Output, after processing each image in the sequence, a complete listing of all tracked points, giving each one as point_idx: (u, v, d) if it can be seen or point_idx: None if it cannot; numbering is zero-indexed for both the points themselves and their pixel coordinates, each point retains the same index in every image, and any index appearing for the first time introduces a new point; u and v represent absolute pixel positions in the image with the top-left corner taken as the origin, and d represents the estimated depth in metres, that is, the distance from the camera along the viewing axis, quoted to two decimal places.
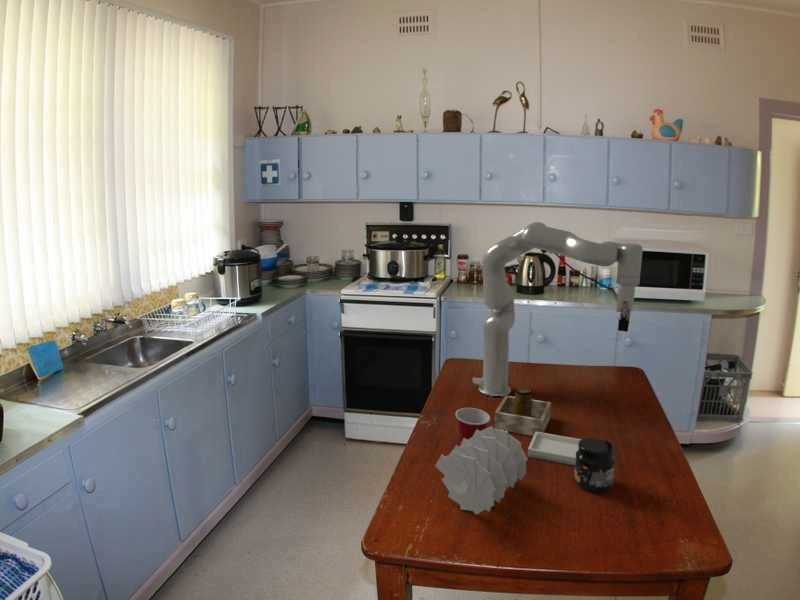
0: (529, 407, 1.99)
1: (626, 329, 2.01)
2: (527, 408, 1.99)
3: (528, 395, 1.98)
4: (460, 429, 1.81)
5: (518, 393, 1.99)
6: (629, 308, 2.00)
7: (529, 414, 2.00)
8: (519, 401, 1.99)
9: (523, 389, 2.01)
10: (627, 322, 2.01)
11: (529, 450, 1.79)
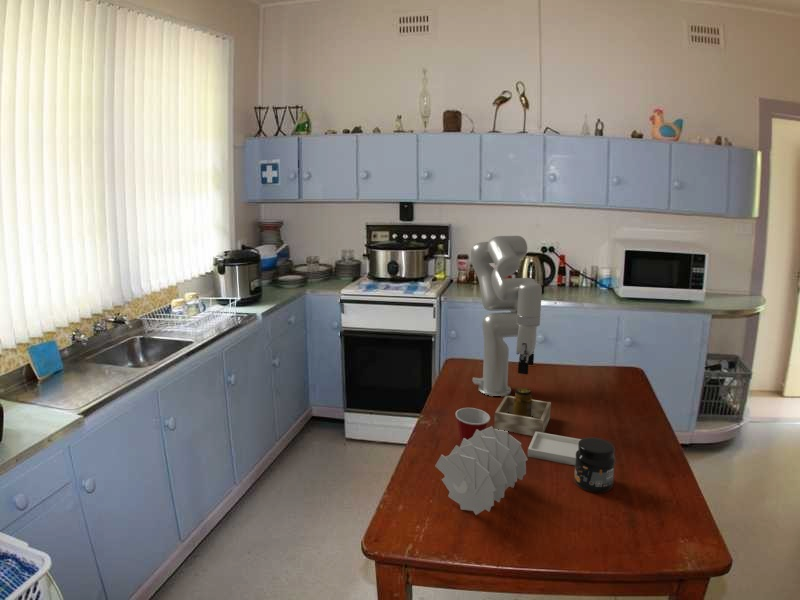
0: (529, 407, 1.99)
1: (526, 372, 1.92)
2: (527, 408, 1.99)
3: (528, 395, 1.98)
4: (460, 429, 1.81)
5: (518, 393, 1.99)
6: (528, 350, 1.91)
7: (529, 414, 2.00)
8: (519, 401, 1.99)
9: (523, 389, 2.01)
10: (527, 365, 1.92)
11: (529, 450, 1.79)
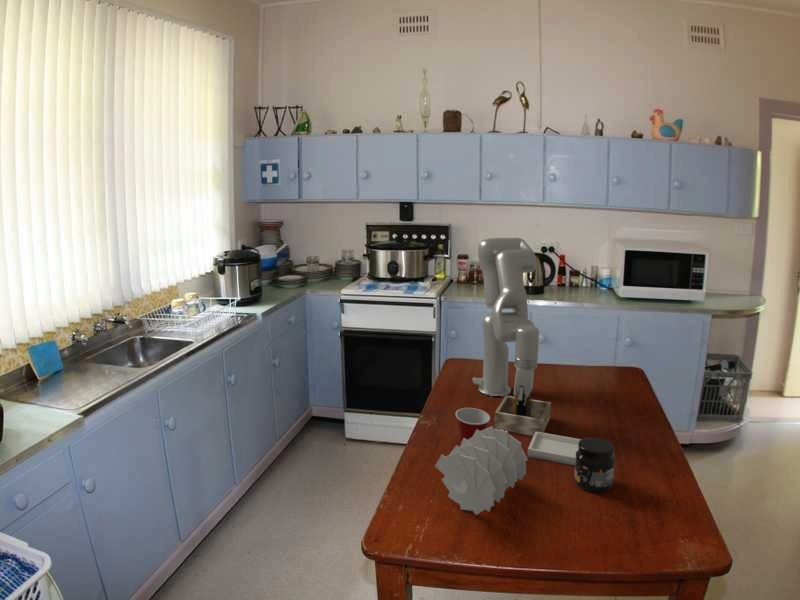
0: (529, 408, 1.99)
1: (524, 414, 1.98)
2: (527, 408, 1.98)
3: None
4: (460, 429, 1.81)
5: None
6: (525, 395, 1.95)
7: (529, 415, 2.00)
8: None
9: None
10: (525, 407, 1.97)
11: (529, 450, 1.79)
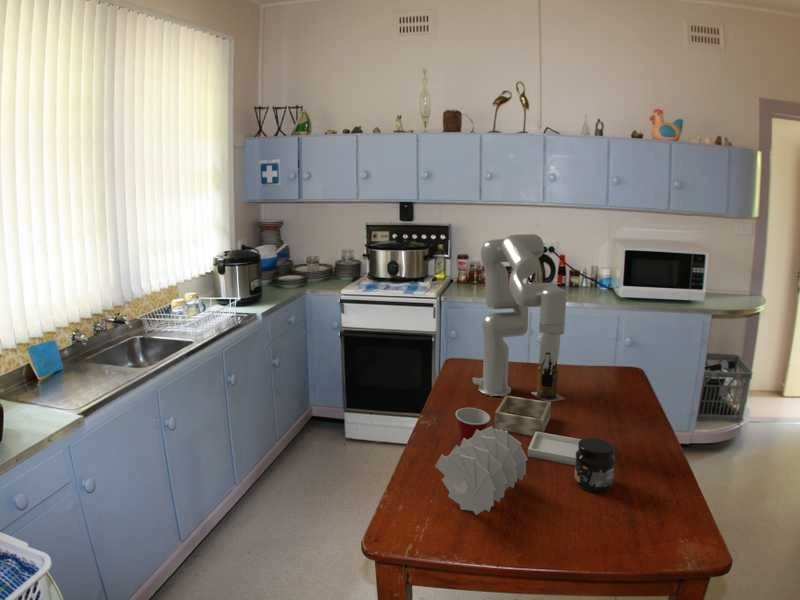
0: (555, 377, 1.83)
1: (550, 384, 1.81)
2: (553, 378, 1.82)
3: None
4: (460, 429, 1.81)
5: (543, 362, 1.82)
6: (552, 362, 1.79)
7: (555, 385, 1.83)
8: None
9: None
10: (551, 377, 1.81)
11: (529, 450, 1.79)
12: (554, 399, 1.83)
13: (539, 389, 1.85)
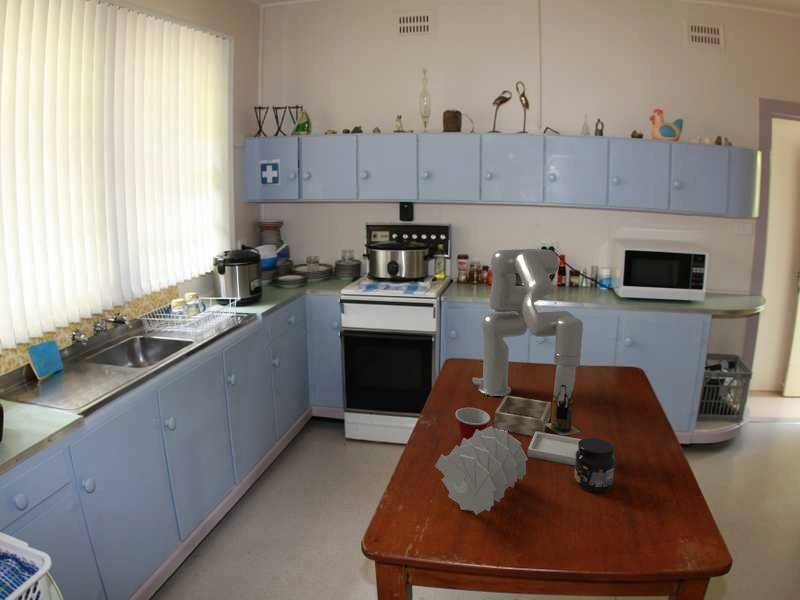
0: (570, 410, 1.77)
1: (565, 417, 1.75)
2: (568, 411, 1.76)
3: None
4: (460, 429, 1.81)
5: (558, 394, 1.76)
6: (567, 395, 1.73)
7: (570, 418, 1.77)
8: None
9: None
10: (566, 409, 1.75)
11: (529, 450, 1.79)
12: (569, 432, 1.77)
13: (554, 421, 1.78)
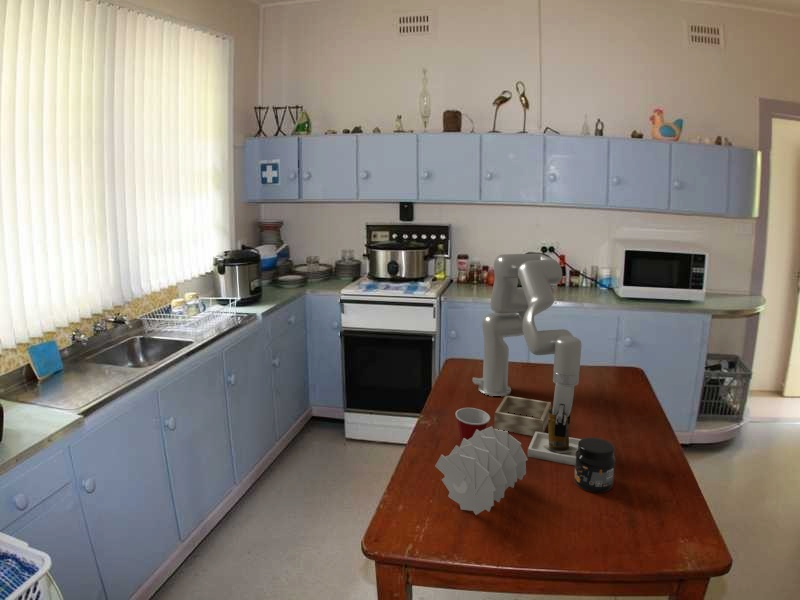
0: (566, 428, 1.79)
1: (563, 435, 1.75)
2: None
3: None
4: (460, 429, 1.81)
5: None
6: (566, 411, 1.74)
7: (567, 436, 1.80)
8: (554, 422, 1.79)
9: None
10: (564, 427, 1.75)
11: (529, 450, 1.79)
12: (567, 450, 1.78)
13: (551, 441, 1.81)
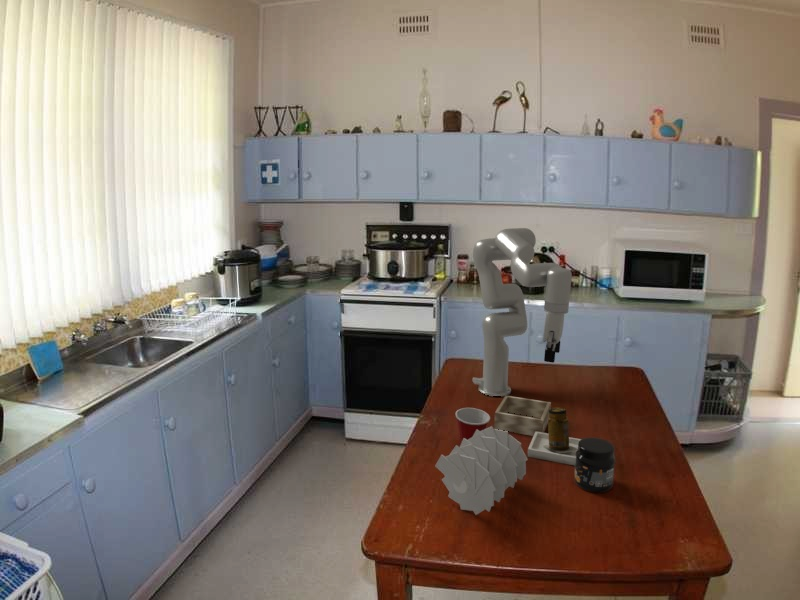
0: (566, 428, 1.79)
1: (552, 360, 1.87)
2: (564, 429, 1.79)
3: (563, 414, 1.79)
4: (460, 429, 1.81)
5: (552, 412, 1.80)
6: (555, 338, 1.85)
7: (567, 436, 1.80)
8: (554, 422, 1.79)
9: (557, 409, 1.82)
10: (553, 353, 1.86)
11: (529, 450, 1.79)
12: (567, 450, 1.78)
13: (551, 441, 1.81)
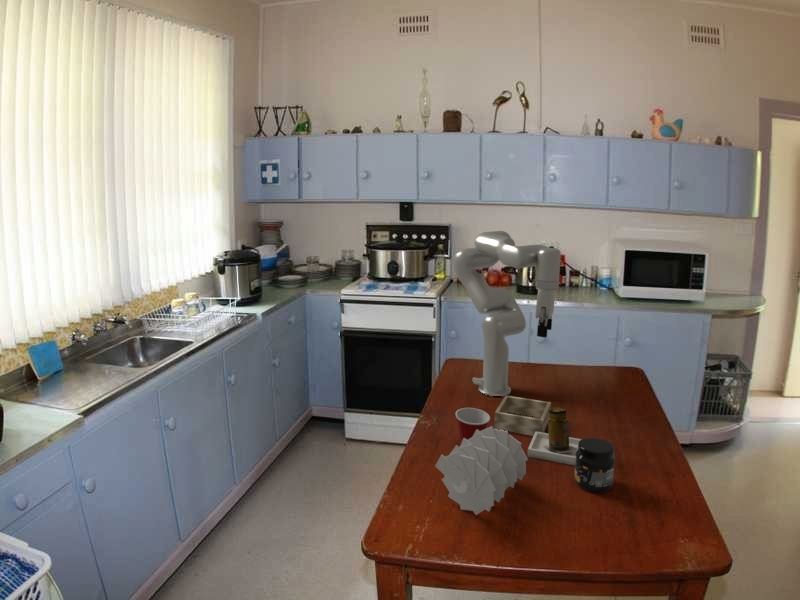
0: (566, 428, 1.79)
1: (545, 335, 1.97)
2: (564, 429, 1.79)
3: (563, 414, 1.79)
4: (460, 429, 1.81)
5: (552, 412, 1.80)
6: (547, 314, 1.96)
7: (567, 436, 1.80)
8: (554, 422, 1.79)
9: (557, 409, 1.82)
10: (546, 328, 1.97)
11: (529, 450, 1.79)
12: (567, 450, 1.78)
13: (551, 441, 1.81)
